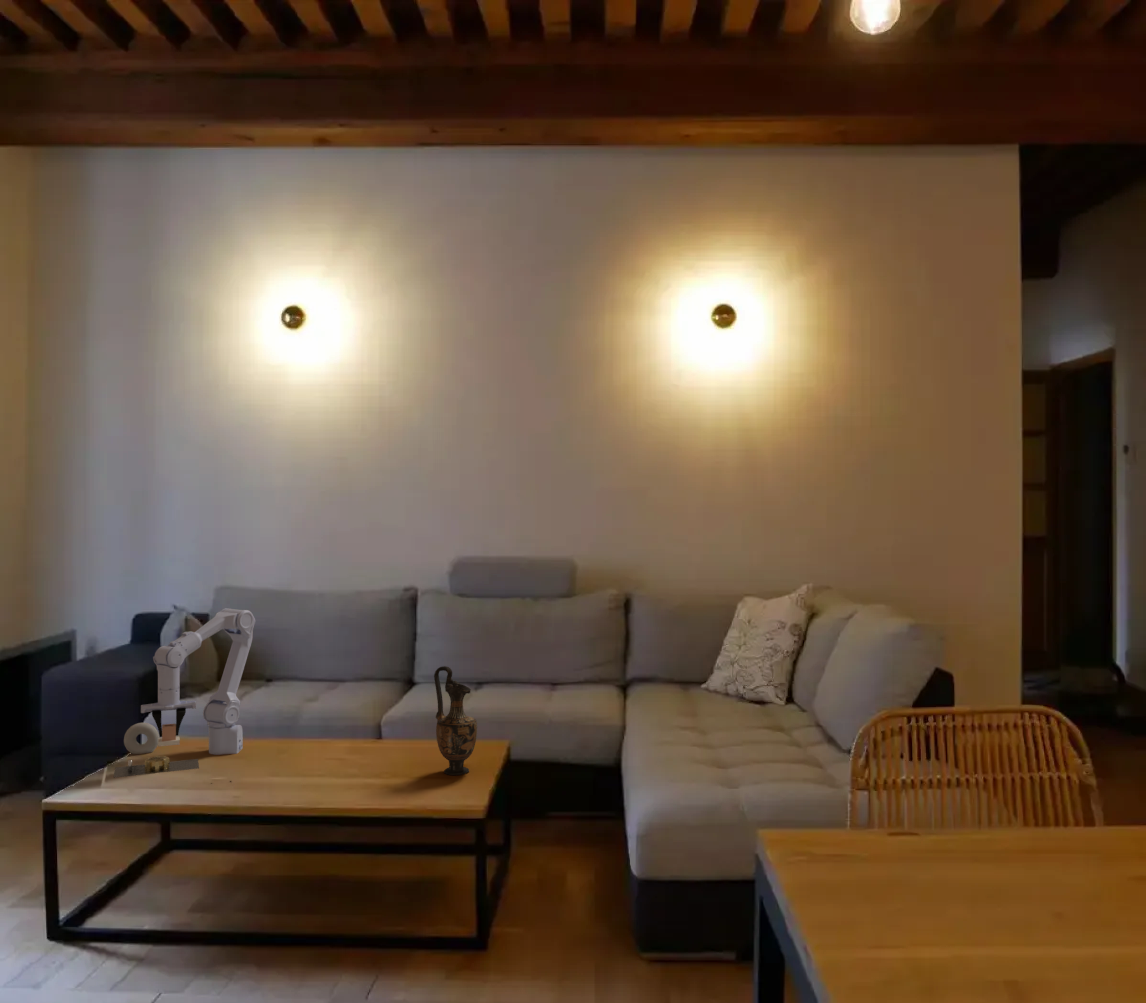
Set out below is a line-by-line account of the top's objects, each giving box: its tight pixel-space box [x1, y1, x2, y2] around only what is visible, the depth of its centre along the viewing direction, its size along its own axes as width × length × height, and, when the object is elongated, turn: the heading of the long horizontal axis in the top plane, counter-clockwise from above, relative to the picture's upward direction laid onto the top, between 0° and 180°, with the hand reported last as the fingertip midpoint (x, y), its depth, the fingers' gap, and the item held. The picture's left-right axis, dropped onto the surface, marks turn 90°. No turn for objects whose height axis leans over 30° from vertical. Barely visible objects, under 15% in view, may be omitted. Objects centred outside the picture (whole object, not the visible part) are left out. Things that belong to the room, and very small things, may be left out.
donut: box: [123, 722, 160, 755], centre depth 286 cm, size 10×4×10 cm, turn 102°
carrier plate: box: [113, 755, 200, 779], centre depth 270 cm, size 22×10×4 cm, turn 114°
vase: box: [433, 665, 478, 776], centre depth 271 cm, size 12×12×30 cm
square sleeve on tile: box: [157, 723, 181, 747], centre depth 271 cm, size 6×6×5 cm
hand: (168, 735), depth 271 cm, fingers closed on square sleeve on tile, 4 cm apart
